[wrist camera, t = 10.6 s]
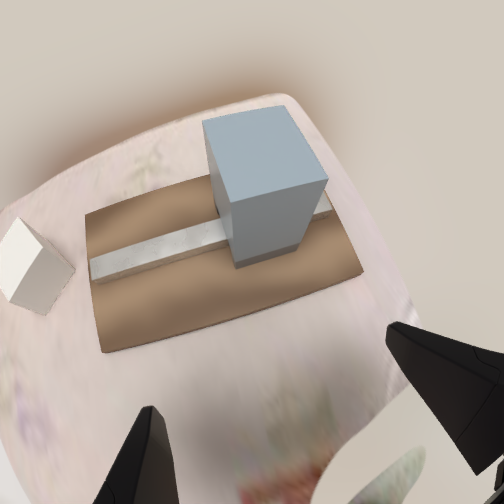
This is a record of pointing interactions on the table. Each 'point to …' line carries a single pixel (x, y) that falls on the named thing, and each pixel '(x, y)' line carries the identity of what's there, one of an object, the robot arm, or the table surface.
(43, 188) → the table surface
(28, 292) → the white cube
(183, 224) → the rail board
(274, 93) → the table surface
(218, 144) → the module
